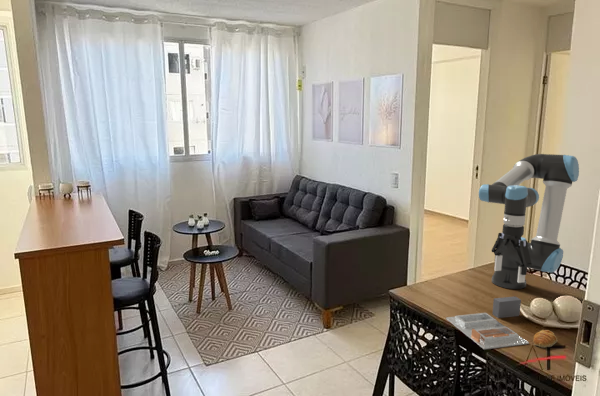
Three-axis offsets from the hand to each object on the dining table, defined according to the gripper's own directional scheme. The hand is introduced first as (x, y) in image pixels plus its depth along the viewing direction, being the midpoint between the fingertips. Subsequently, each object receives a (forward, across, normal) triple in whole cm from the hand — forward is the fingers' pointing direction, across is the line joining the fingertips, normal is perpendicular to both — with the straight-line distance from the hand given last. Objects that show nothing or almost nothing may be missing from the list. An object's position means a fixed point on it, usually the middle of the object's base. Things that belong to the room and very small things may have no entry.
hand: (508, 276), depth 171 cm
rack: (+17, +10, -17) cm, 26 cm away
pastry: (+17, +22, -1) cm, 28 cm away
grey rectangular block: (+17, 0, 0) cm, 17 cm away
